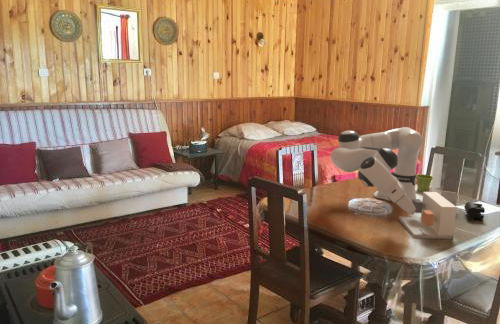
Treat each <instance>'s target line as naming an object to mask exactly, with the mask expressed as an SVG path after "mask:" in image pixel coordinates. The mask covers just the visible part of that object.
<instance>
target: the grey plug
mask: <svg viewBox="0 0 500 324" xmlns="http://www.w3.org/2000/svg"><path fill="white" fill-rule="evenodd" d="M412 203H413V205H414V206H415V208H416V210H415V213H414V214H421V213H422V209H424V208H425V205H424V204H423V202H422V200H420V199H419V198H416V199H413V200H412Z"/></svg>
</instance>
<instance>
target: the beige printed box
mask: <svg viewBox="0 0 500 324" xmlns="http://www.w3.org/2000/svg"><path fill="white" fill-rule="evenodd" d="M440 195H441V196H442V197H444V198H445V199H446V200H448V201H449V202H450V203H452V204H453V205H454V206H456V207H457V198H458V192H453V191H447V190H441V194H440Z"/></svg>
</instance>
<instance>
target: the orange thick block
mask: <svg viewBox="0 0 500 324" xmlns="http://www.w3.org/2000/svg"><path fill="white" fill-rule="evenodd" d="M434 221H436V215H434V214H433V213H432V212H431V211H430V210H423V213H422V222H423V223H424V224H425V225H430V226H433V222H434Z"/></svg>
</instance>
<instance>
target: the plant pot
mask: <svg viewBox="0 0 500 324" xmlns="http://www.w3.org/2000/svg"><path fill="white" fill-rule="evenodd" d="M433 179H434V176H432V175H428V174H421V173H419V174H416V183H417V184H416V187H417V189H416V190H417V191H420V192H422V193H423V192H430V187H431V182H432V180H433Z"/></svg>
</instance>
